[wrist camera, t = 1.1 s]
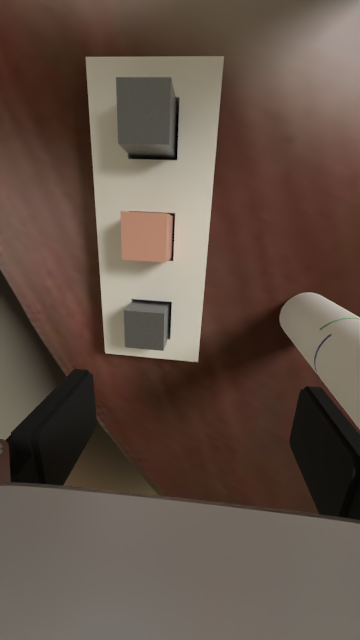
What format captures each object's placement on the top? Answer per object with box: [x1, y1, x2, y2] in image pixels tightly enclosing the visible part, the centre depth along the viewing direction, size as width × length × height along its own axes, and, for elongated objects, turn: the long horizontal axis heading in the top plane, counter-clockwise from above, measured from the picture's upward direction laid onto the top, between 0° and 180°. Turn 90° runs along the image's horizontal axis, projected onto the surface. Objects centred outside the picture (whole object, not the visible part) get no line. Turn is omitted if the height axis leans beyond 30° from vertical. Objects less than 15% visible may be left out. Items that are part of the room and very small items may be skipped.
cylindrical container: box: [279, 292, 360, 429], centre depth 24 cm, size 7×7×25 cm
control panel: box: [86, 56, 224, 362], centre depth 32 cm, size 14×34×4 cm, turn 177°
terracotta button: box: [120, 211, 173, 262], centre depth 29 cm, size 5×5×5 cm
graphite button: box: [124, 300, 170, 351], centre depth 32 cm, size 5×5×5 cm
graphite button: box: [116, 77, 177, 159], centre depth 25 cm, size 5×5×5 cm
